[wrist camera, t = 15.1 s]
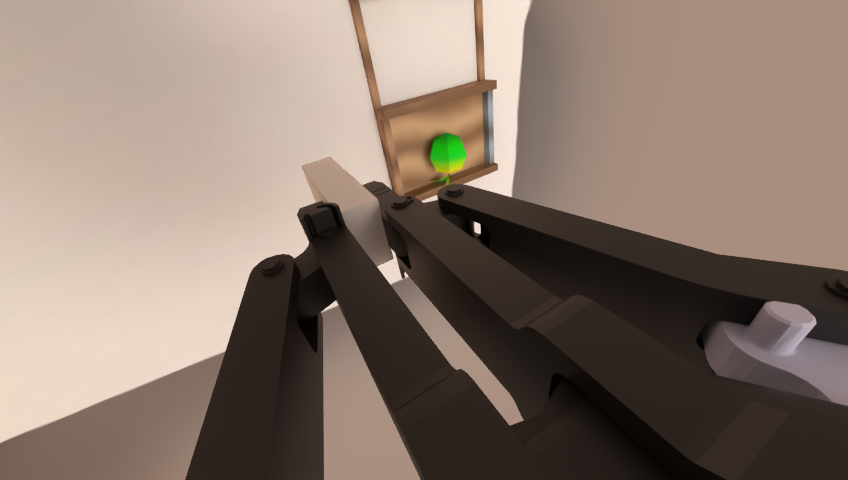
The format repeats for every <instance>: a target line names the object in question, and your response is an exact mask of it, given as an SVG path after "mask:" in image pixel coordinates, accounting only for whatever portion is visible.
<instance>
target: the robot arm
mask: <svg viewBox="0 0 848 480" xmlns="http://www.w3.org/2000/svg"><path fill="white" fill-rule="evenodd" d="M302 169H303V171H304V174H305V176H306V179H307V181H308V184H309V186H310V189H311V191H312V194H313V196H314V199H315V201H316V203H314V204H311V205H308V206H306V207H303V208H300V209H299V211H298V214H297V216H298V218H299V220H300V223H301V225H302V227H303V229H304V231H305V234H306V236H307V238H308V240H309V245H308V247H307V249H306V250H305V251H304V252H303V253H302V254H300V255H299V256H298V257H296V258H295V259H294V258H293V257H292V256H290V255H286V254H281V255H275V256H272V257H269V258H266V259H264V260H263V261H261V262H260V263H259V264H258V265H257V266H255V267H254V268H253V270H252V271H251V273H250V276H249V279H248V282H247V285H246V288H245V292H244V295H243V298H242V301H241V304H240V307H239V311H238V314H237V317H236V320H235V323H234V327H233V330H232V333H231V336H230V339H229V342H228V346H227V349H226V352H225V355H224V358H223V361H222V365H221V368H220V371H219V374H218V378H217V381H216V384H215V387H214V390H213V393H212V396H211V400H210V403H209V406H208V409H207V412H206V415H205V419H204V422H203V425H202V428H201V431H200V435H199V438H198V441H197V444H196V447H195V451H194V454H193V457H192V460H191V463H190V466H189V469H188V473H187V476H186V479H185V480H324V443H323V442H324V439H323V438H324V437H323V436H324V433H323V317H322V314H321V311H323V310H324V309H325V308H327V307H328V306H329V305H330V304H332V303H333V302H334V301H335V300H336V301H337V303H338V305H339V307H340V309H341V311H342V313H343V316H344V318H345V320H346V322H347V324H348V326H349V328H350V330H351V332H352V334H353V337H354V339H355V341H356V343H357V345H358V347H359V349H360V352H361V354H362V356H363V358H364V360H365V362H366V364H367V366H368V369H369V371H370V372H371V375H372V377H373V379H374V381H375V383H376V385H377V388H378V390H379V392H380V394H381V396H382V398H383V400H384V402H385V405H386V407H387V409H388V411H389V413H390V415H391V417H392V420H393V422H394V424H395V426H396V428H397V430H398V432H399V434H400V436H401V439H402V441H403V443H404V445H405V447H406V449H407V451H408V453H409V455H410V458H411V460H412V461H413V464H414V466H415V468H416V470H417V472H418V475H419V477H420V479H421V480H848V271H843V270H837V269H829V268H821V267H814V266H806V265H798V264H790V263H782V262H774V261H766V260H759V259H750V258H743V257H735V256H727V255H719V254H715V253H712V252H708V251H704V250H701V249H697V248H693V247H690V246H686V245H682V244H678V243H675V242H671V241H668V240H664V239H661V238H657V237H653V236H650V235H646V234H642V233H639V232H635V231H632V230H628V229H624V228H621V227H617V226H613V225H610V224H606V223H602V222H599V221H595V220H591V219H588V218H584V217H581V216H577V215H573V214H570V213H566V212H562V211H558V210H555V209H552V208H548V207H544V206H541V205H537V204H533V203H530V202H526V201H522V200H519V199H515V198H512V197H508V196H504V195H501V194H497V193H493V192H490V191H486V190H482V189H479V188H475V187H472V186H468V185H463V184H451V185H447V186H445V187H443V188H441V189H440V190H439V191H438V193H437V196H438V200H436V201H431V202H427V203H423V202H421V201H420V200H418V199H417V198H415V197H413V196H407V195H405V196H399V195H398V194H397V193H395V192H394V191H393V190H391V189H390V188H389V187H387V186H386V185H385V184H383V183H381V182H376V181H373V182H370V183H367V184H364V185H361V184H360V183H359V182H358V181H357V180H356V179H354V178H353V177H352V176H351V175H350V174H349V173H348V172H347V171H345V170H344V169H343V168H342V167H341V166H340V165H339V164H338V163H336V162H335V161H334V160H333V159H332V158H331V157H328V158H325V159H322V160H319V161H315V162H312V163H309V164H306V165H302ZM474 222H477V223H480V224H481V234H477V233H475V232H474ZM391 249H392V250H393V251H394V252H395V253H396V257H397V261H398V265H399V269H400V273H401V276H402V279H404V278H405V275H404V272H406V273H407V274H408V276H409V277H410V278H411V279H412V280H413V281H414V283H415V284H416V285H417V286H418V287H419V288H420V289H421V291H422V292H423V293H424V294H425V295H426V297H427V298H428V299H429V300H430V301H431V302H432V304H433V305H434V306H435V307H436V308H437V309H438V310H439V312H440V313H441V314H442V315H443V316H444V317H445V319H446V320H447V321H448V322H449V323H450V325H451V326H452V327H453V328H454V329H455V330H456V332H457V333H458V334H459V335H460V336H461V337H462V338H463V340H464V341H465V342H466V343H467V344H468V345H469V346H470V348H471V349H472V350H473V351H474V352H475V354H476V355H477V356H478V357H479V358H480V359H481V361H482V362H483V363H484V364H485V365H486V366H487V368H488V369H489V370H490V371H491V372H492V373H493V375H494V376H495V377H496V378H497V379H498V380H499V382H500V383H501V384H502V385H503V386H504V387H505V389H506V390H507V391H508V392H509V393H510V395H511V396H512V397H513V399H514V401H515V403H516V405H517V407H518V410H519V412H520V414H521V416H522V418H523V419H524V421H521V422H519V423H516V424H513V425H511V426H509V425H508V423H507V422H506V421H505V419H504V418H503V417H502V416H501V415H500V413H499V412H498V411H497V409H496V408H495V407H494V406H493V404H492V403H491V402H490V400H489V399H488V398H487V397H486V395H485V394H484V393H483V392H482V391H481V389H480V388H479V387H478V385H477V384H476V383H475V381H474V380H473V379H472V378H471V377H470V376H469V375H468V374H467V373H466V372H465V371H463V370H462V369H459V370H456V369H454V368H453V367H452V366H451V365H450V363H449V362H448V361H447V359H446V358H445V357H444V355H443V354H442V353H441V351H440V350H439V349H438V348H437V346H436V345H435V344H434V342H433V341H432V340H431V339H430V337H429V336H428V334H427V333H426V332H425V331H424V329H423V328H422V326H421V325H420V324H419V322H418V321H417V320H416V318H415V317H414V316H413V315H412V313H411V312H410V310H409V309H408V308H407V306H406V305H405V304H404V302H403V301H402V300H401V299H400V297H399V296H398V294H397V293H396V292H395V290H394V289H393V288H392V286H391V285H390V284H389V282H388V281H387V280H386V278H385V277H384V276H383V274H382V273H381V272H380V270H379V269H378V268H377V266H379V265H381V264H383V263H385V262H387V261H389V260H392V259H393V255H392V251H391Z"/></svg>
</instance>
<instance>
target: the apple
mask: <svg viewBox="0 0 848 480" xmlns="http://www.w3.org/2000/svg"><path fill="white" fill-rule="evenodd" d="M466 156H467V154H466V152H465V149H464V147H463V144H462V142H461V139H460V137H459V136H457V135H453V134H450V133H445V134H443V135H441V136H438V137H436V138H434V140H433V144H432V148H431V151H430V159H431V161H432V163H433V165H434V167H435V169H436V171H437V172H442V173H447V174H448V176H446V177H444V178H442V179H440V180H435V181H436V182H444V181H446V180H447V181H446V185H451V182H450V173H453V172H455V171H458V170H461V169H462V167H463V164H464V162H465V159H466Z"/></svg>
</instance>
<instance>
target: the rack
mask: <svg viewBox="0 0 848 480" xmlns="http://www.w3.org/2000/svg"><path fill="white" fill-rule="evenodd" d="M349 3H350V7H351V11H352V16H353V20H354V25H355V29H356V33H357V38H358V42H359V46H360V51H361V55H362V59H363V64H364V68H365V72H366V77H367V81H368V85H369V90H370V94H371V98H372V103H373V107H374V111H375V116H376V120H377V124H378V129H379V133H380V137H381V142H382V146H383V150H384V155H385V159H386V163H387V168H388V172H389V176H390V181H391V185H392V189H393V191H394V192H395V193H397V194H398V195H399V196H405V195H407V196H413V197H415V198H417V199H418V200H420V201H422V200H425V199H427V198H430V197H432V196H435V195H437V193H438V191H439V190H440V189H441V188H443V187H445V186H447V185H446V181H447V180H446V181H444V182H436V181H435V180H440V179H442V178H444V177H446V176H448V174H447V173H442V172H437V171H436V169H435V167H434V165H433V163H432V161H431V159H430V151H431V148H432V144H433V140H434V138H436V137H438V136H441V135H443V134H445V133H450V134H453V135H457V136H459V137H460V139H461V142H462V144H463V147H464V149H465V152H466V154H467V156H466V159H465V162H464V164H463V167H462V169H461V170H458V171H455V172H453V173H450V182H451V184H464V183H467V182H469V181H472V180H474V179H477V178H479V177H482V176H484V175H487V174H489V173H492V172H494V171H497V170H498V164H496V163H494V137H493V89H497V81H496V80H485V70H484V40H483V10H482V0H474V8H475V30H476V53H477V75H478V81H475V82H471V83H468V84H464V85H460V86H457V87H453V88H449V89H445V90H442V91H438V92H434V93H431V94H427V95H423V96H420V97H416V98H412V99H408V100H405V101H401V102H397V103H394V104H390V105H386V106H382V107H381V102H380V97H379V93H378V88H377V83H376V79H375V74H374V70H373V65H372V60H371V56H370V51H369V47H368V42H367V37H366V33H365V28H364V23H363V19H362V14H361V10H360V5H359V0H349Z"/></svg>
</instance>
